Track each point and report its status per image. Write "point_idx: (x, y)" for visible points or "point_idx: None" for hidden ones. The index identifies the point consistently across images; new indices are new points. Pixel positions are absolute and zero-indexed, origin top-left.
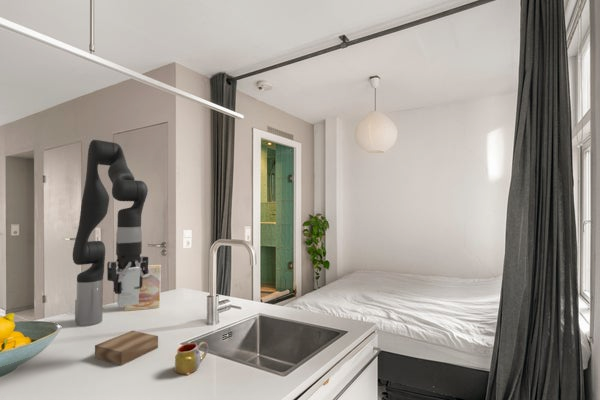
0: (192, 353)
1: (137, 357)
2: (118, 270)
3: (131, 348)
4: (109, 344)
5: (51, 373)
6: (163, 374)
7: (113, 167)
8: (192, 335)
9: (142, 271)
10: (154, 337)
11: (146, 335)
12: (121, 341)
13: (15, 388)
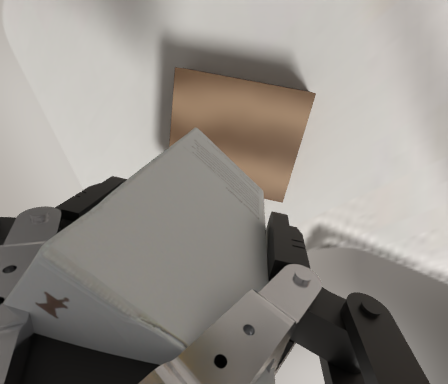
0: None
1: None
2: (5, 286)
3: None
4: (193, 108)
5: (89, 31)
6: None
7: None
8: (376, 230)
9: (328, 346)
10: (269, 199)
11: (279, 169)
12: (221, 127)
13: (18, 18)
